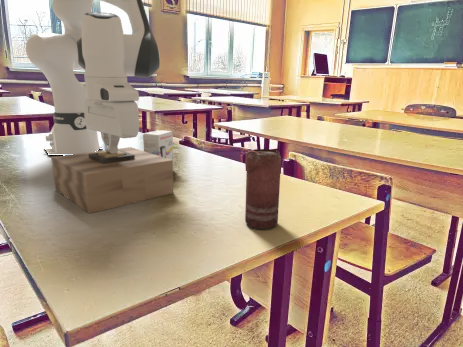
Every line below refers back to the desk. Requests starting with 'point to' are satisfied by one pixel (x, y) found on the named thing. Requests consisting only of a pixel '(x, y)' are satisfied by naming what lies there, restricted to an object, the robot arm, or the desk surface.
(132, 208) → the desk surface
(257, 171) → the can
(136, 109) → the robot arm
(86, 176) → the sleeve block
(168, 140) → the ink box
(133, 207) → the desk surface
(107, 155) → the peg
